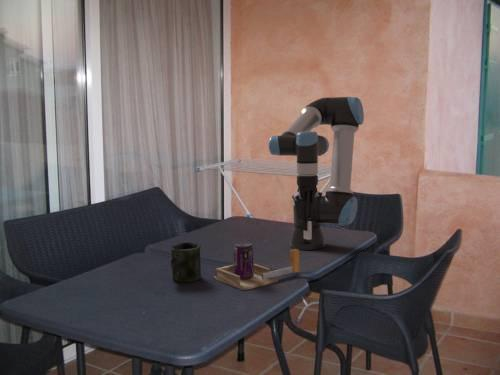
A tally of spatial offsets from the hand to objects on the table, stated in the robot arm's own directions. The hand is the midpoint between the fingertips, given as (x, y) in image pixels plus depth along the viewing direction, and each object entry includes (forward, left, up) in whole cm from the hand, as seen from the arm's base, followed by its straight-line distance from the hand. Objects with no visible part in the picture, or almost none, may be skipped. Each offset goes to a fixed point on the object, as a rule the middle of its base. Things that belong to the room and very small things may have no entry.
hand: (307, 238), depth 220 cm
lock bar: (+13, 0, -11) cm, 17 cm away
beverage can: (+24, -8, -12) cm, 27 cm away
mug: (+40, -22, -13) cm, 47 cm away
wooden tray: (+24, -8, -12) cm, 28 cm away
